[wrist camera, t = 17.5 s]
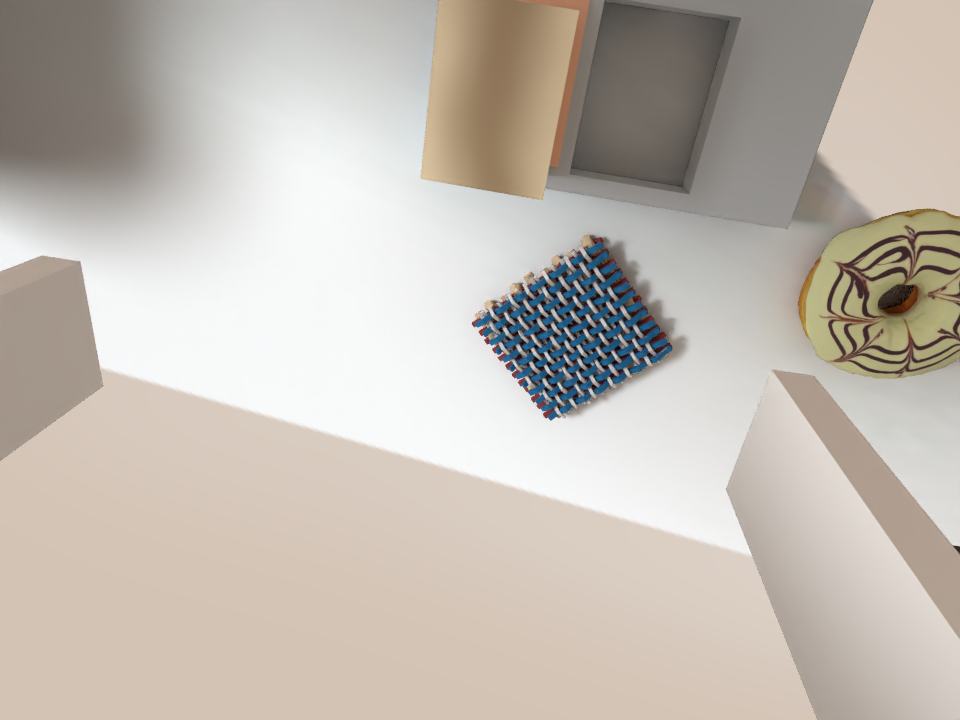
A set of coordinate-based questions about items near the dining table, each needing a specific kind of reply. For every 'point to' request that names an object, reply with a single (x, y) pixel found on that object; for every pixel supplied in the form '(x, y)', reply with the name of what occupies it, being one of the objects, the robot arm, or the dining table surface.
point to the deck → (731, 106)
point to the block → (496, 94)
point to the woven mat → (573, 330)
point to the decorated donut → (868, 275)
